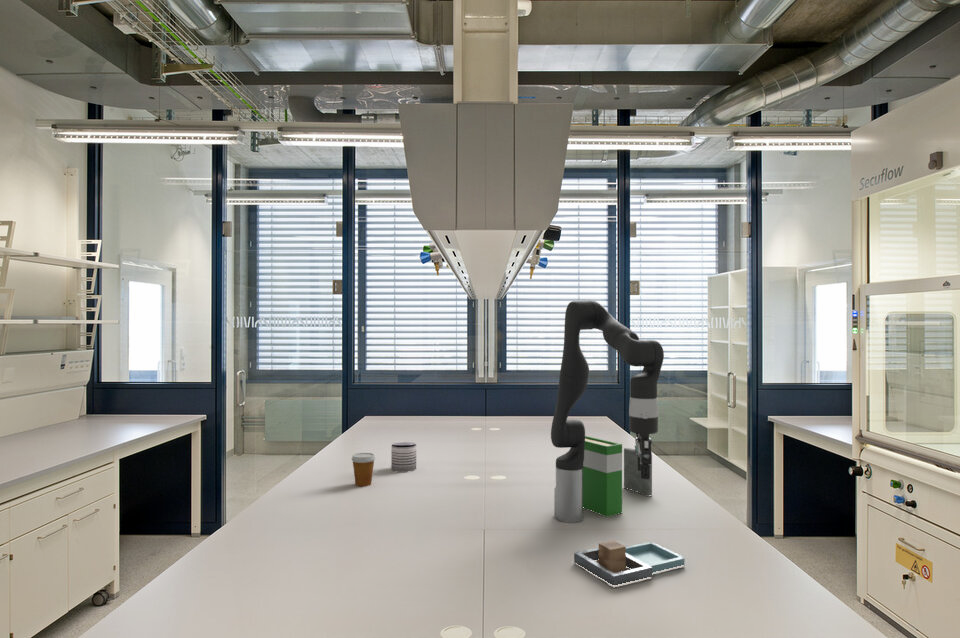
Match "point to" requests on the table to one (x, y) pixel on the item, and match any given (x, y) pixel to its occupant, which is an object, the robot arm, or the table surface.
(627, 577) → the holder
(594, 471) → the hardback book
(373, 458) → the disposable coffee cup
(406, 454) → the can
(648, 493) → the flask
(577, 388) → the robot arm
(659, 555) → the tray
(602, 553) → the walnut block
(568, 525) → the table surface
